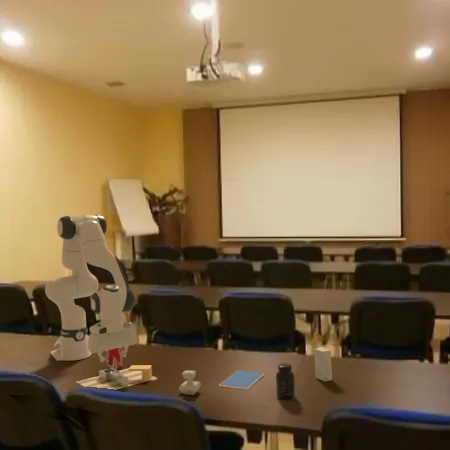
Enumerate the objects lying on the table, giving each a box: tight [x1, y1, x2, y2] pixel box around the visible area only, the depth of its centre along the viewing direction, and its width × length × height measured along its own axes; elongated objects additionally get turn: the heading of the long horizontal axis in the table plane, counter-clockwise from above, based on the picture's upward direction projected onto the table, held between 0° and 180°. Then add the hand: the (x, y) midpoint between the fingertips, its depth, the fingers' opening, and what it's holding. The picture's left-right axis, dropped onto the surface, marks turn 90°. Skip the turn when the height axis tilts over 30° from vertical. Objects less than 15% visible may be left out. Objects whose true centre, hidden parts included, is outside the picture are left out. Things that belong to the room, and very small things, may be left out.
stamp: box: [178, 370, 202, 396], centre depth 207 cm, size 9×7×8 cm
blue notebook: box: [218, 369, 265, 391], centre depth 220 cm, size 19×13×1 cm, turn 155°
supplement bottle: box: [275, 362, 296, 401], centre depth 200 cm, size 7×7×12 cm
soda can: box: [105, 347, 123, 370], centre depth 240 cm, size 7×7×12 cm
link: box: [98, 368, 128, 387], centre depth 221 cm, size 16×6×3 cm, turn 40°
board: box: [75, 367, 158, 391], centre depth 223 cm, size 20×26×1 cm
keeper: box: [127, 364, 153, 381], centre depth 224 cm, size 8×5×6 cm, turn 85°
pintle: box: [105, 365, 111, 373], centre depth 225 cm, size 2×2×6 cm
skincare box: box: [313, 346, 333, 382], centre depth 218 cm, size 6×4×12 cm
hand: (113, 359), depth 221 cm, fingers open, 8 cm apart
